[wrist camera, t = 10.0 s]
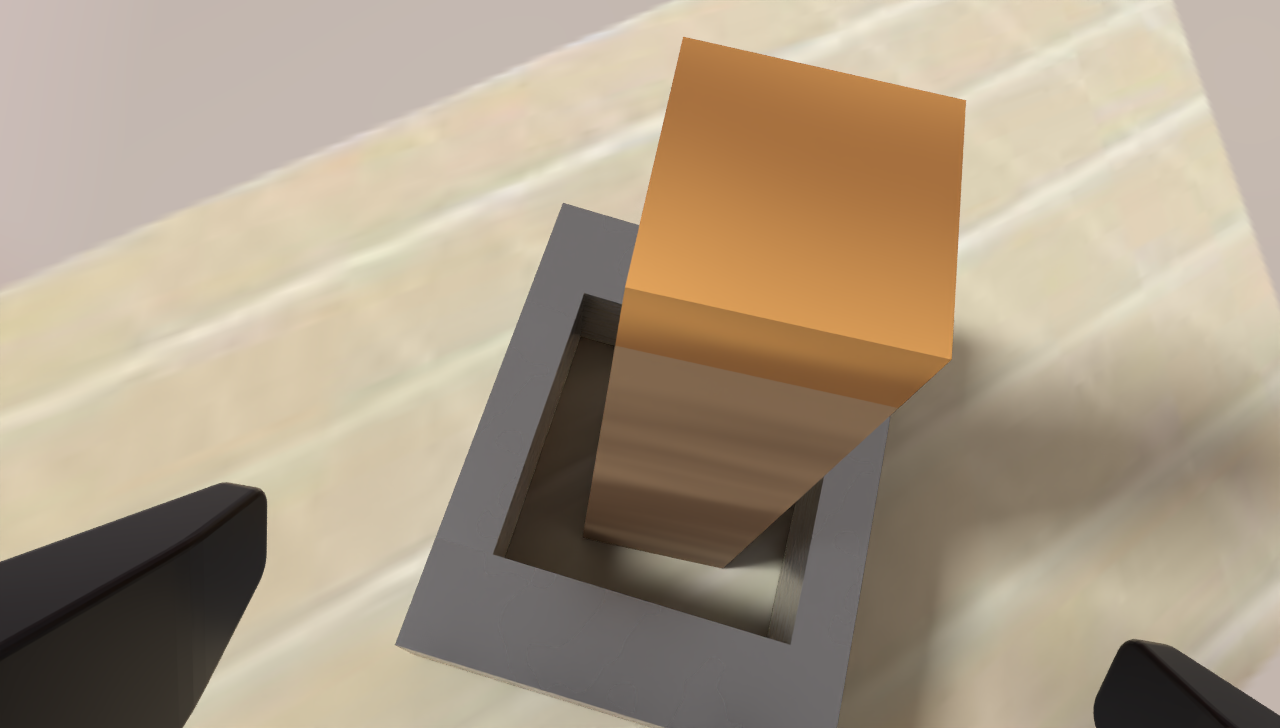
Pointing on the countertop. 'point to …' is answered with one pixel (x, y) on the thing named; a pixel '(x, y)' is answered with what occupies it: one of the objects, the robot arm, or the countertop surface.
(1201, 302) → the countertop surface
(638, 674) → the grey rectangular frame
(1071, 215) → the countertop surface
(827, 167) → the walnut pin
